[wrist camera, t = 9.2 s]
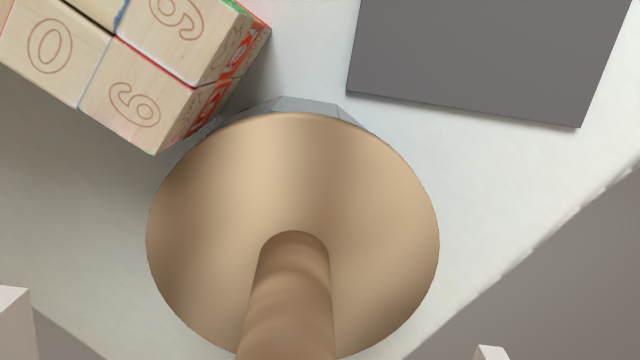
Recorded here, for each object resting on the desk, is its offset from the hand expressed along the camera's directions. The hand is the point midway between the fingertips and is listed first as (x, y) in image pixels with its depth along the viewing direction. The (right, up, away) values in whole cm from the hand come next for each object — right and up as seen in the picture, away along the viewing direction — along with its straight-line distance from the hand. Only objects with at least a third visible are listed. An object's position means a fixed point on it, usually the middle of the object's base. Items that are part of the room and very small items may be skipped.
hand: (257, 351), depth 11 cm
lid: (+1, +2, +8) cm, 8 cm away
